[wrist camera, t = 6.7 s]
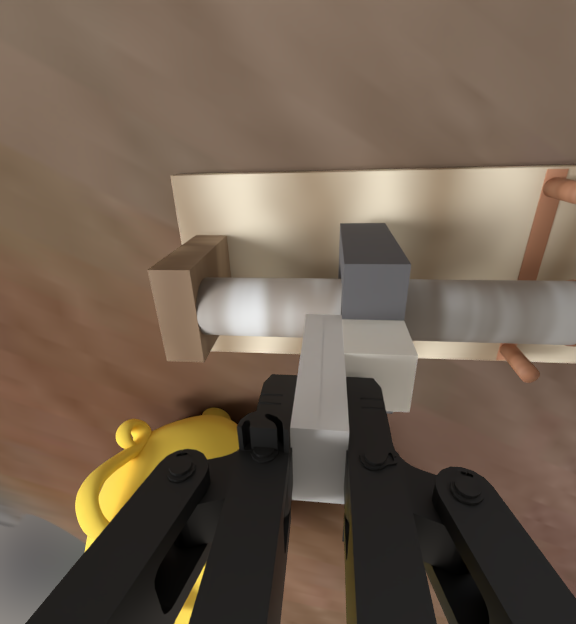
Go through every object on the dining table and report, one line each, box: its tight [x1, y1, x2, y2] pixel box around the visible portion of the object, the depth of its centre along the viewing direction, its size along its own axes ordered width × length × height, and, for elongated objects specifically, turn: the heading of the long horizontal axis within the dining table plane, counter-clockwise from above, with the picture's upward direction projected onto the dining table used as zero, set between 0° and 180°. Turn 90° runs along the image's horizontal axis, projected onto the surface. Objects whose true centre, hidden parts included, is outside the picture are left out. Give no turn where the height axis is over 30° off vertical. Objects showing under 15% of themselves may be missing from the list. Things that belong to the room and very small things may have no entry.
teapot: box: [75, 408, 239, 624], centre depth 27 cm, size 14×20×13 cm
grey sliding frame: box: [338, 223, 418, 414], centre depth 17 cm, size 2×7×10 cm, turn 2°
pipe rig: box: [148, 165, 576, 383], centre depth 19 cm, size 29×12×8 cm, turn 92°
